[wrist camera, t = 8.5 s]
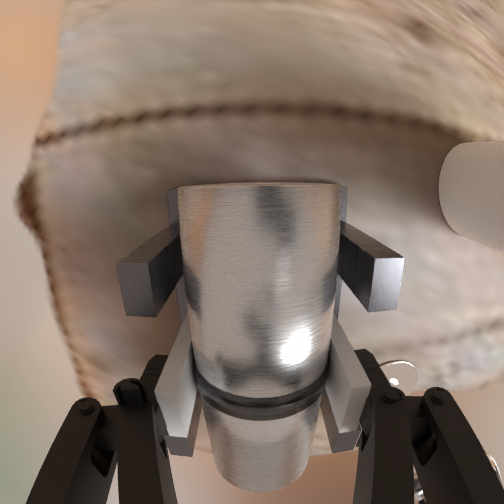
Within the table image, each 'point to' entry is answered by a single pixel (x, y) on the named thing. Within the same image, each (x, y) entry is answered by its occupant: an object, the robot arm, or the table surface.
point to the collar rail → (159, 289)
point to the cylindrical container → (474, 192)
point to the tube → (260, 319)
